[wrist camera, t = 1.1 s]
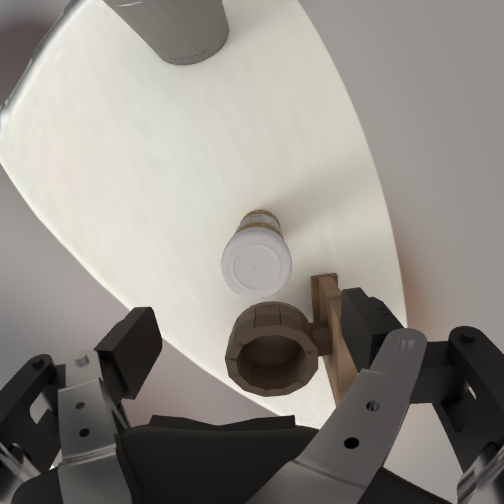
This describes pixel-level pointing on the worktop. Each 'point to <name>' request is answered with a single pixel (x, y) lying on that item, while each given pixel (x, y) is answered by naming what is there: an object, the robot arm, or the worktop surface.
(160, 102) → the worktop surface
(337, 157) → the worktop surface
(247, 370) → the bracket
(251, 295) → the sprinkles bottle
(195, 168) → the worktop surface
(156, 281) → the worktop surface
